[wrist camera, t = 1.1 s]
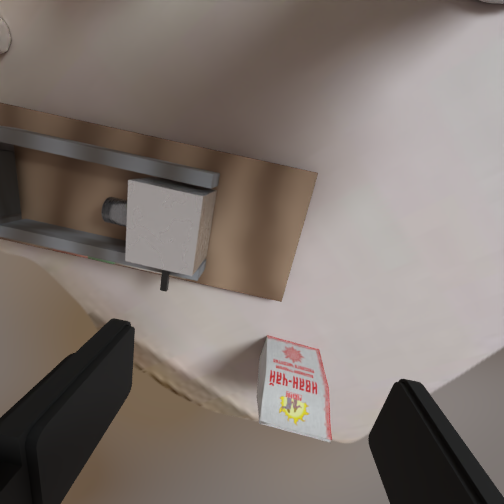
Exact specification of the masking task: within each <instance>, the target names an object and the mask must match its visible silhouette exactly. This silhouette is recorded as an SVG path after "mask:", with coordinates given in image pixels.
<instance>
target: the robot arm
mask: <svg viewBox="0 0 504 504" xmlns="http://www.w3.org/2000/svg"><path fill="white" fill-rule="evenodd" d="M480 1H483V2H487V3H499V4H504V0H480ZM134 334H135V329H134V327H131V324H130V322H128V321H123V320H119V319H111V320H110V321H109V322H108V323H106V324H105V325H104V326H103V327H102V328H101V329H100V330H99V331H98V332H97V333H96V334H95V335H94V336H93V337H92V338H91V339H90V340H88V342H86V343H85V344H84V345H83V346H82V347H81V348H80V349H79V350H78V351H77V352H76V353H73V354H70V355H69V356H67V357H66V358H65V359H64V360H63V361H62V362H60V363H59V364H58V365H57V366H56V367H55V368H54V369H53V370H52V371H51V372H50V373H49V374H48V375H46V376H45V377H44V378H43V379H42V380H41V381H40V382H39V383H38V384H37V385H36V386H35V387H33V388H32V389H31V390H30V391H29V392H28V393H27V394H26V395H25V396H24V397H23V398H21V399H20V400H19V401H18V402H17V403H16V404H15V405H14V406H13V407H12V408H11V409H10V410H8V411H7V412H6V413H5V414H4V415H3V416H2V417H1V418H0V504H61V502H62V500H63V499H64V497H65V496H66V494H67V492H68V491H69V489H70V488H71V486H72V484H73V483H74V481H75V479H76V478H77V476H78V475H79V473H80V472H81V470H82V468H83V467H84V465H85V464H86V462H87V461H88V459H89V457H90V456H91V454H92V453H93V451H94V449H95V448H96V446H97V444H98V443H99V441H100V440H101V438H102V436H103V435H104V433H105V432H106V430H107V429H108V427H109V425H110V424H111V422H112V420H113V419H114V417H115V416H116V414H117V413H118V411H119V409H120V408H121V406H122V405H123V403H124V401H125V399H126V398H127V396H128V394H129V392H130V390H131V386H132V369H133V353H134ZM369 446H370V449H371V452H372V455H373V458H374V460H375V463H376V466H377V469H378V471H379V474H380V477H381V480H382V482H383V485H384V488H385V490H386V493H387V496H388V499H389V502H390V504H504V497H503V496H502V494H501V493H500V492H499V490H498V489H497V488H496V486H495V485H494V483H493V482H492V481H491V479H490V478H489V476H488V475H487V474H486V472H485V471H484V469H483V468H482V467H481V465H480V464H479V462H478V461H477V460H476V458H475V457H474V455H473V454H472V453H471V451H470V450H469V448H468V447H467V446H466V444H465V443H464V442H463V440H462V439H461V437H460V436H459V434H458V433H457V432H456V430H455V429H454V427H453V426H452V425H451V423H450V422H449V420H448V419H447V418H446V416H445V415H444V414H443V412H442V411H441V409H440V408H439V407H438V405H437V404H436V403H435V401H434V400H433V398H432V397H431V396H430V394H429V393H428V391H427V390H426V388H425V387H424V386H423V385H422V384H421V383H420V382H416V381H411V380H406V379H401V380H399V382H396V383H394V385H393V387H392V389H391V391H390V393H389V395H388V397H387V399H386V401H385V403H384V405H383V407H382V409H381V411H380V413H379V416H378V418H377V420H376V422H375V424H374V426H373V428H372V430H371V432H370V434H369Z"/></svg>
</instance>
